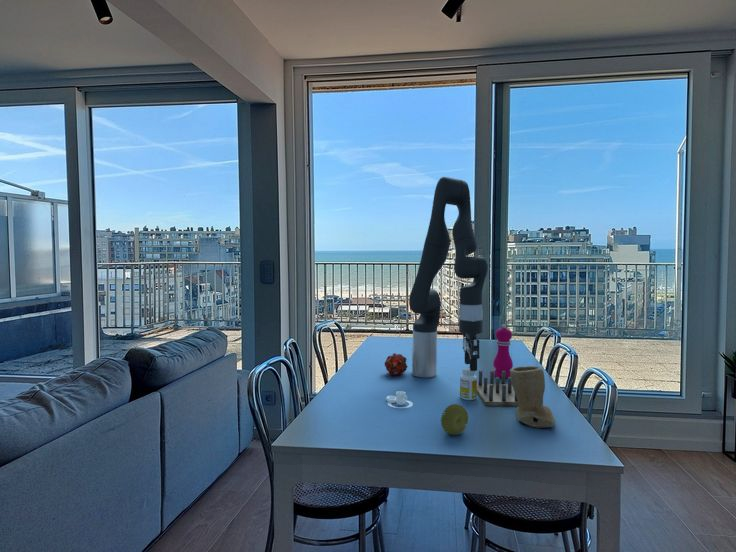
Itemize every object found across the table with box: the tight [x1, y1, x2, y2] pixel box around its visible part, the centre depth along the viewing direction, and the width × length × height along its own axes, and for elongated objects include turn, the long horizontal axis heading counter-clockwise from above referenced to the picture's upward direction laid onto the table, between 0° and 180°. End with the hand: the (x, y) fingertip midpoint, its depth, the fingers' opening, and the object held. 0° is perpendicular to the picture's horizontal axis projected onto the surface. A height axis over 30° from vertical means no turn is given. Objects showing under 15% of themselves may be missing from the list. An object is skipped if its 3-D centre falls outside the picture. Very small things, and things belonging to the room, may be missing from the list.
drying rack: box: [477, 370, 518, 407], centre depth 150 cm, size 16×18×6 cm
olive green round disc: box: [440, 403, 469, 436], centre depth 119 cm, size 8×4×8 cm, turn 118°
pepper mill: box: [492, 323, 514, 379], centre depth 173 cm, size 7×7×20 cm
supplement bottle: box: [459, 366, 478, 401], centre depth 148 cm, size 5×5×10 cm
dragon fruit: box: [384, 352, 408, 377], centre depth 175 cm, size 8×8×12 cm
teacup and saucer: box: [385, 390, 414, 409], centre depth 142 cm, size 9×8×4 cm
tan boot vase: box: [510, 365, 556, 429], centre depth 130 cm, size 15×12×15 cm
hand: (470, 367), depth 148 cm, fingers open, 8 cm apart
